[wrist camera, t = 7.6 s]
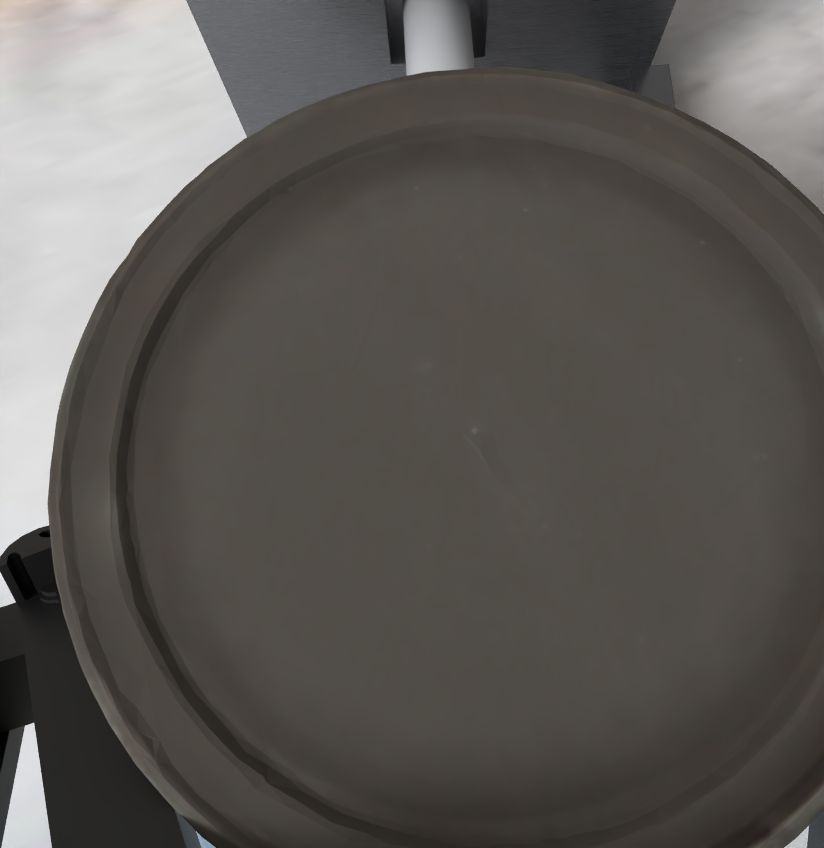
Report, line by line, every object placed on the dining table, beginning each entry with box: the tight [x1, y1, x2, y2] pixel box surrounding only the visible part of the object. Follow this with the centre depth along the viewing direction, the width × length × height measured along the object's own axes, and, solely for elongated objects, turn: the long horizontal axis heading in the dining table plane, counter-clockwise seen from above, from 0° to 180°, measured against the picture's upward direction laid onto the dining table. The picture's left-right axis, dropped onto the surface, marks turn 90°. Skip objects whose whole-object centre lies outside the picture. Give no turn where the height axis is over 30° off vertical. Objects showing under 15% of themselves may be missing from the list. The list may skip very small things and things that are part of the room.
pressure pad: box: [402, 0, 475, 76], centre depth 20 cm, size 11×14×9 cm
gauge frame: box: [186, 0, 676, 137], centre depth 20 cm, size 17×15×11 cm
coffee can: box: [48, 67, 824, 848], centre depth 15 cm, size 10×10×14 cm
